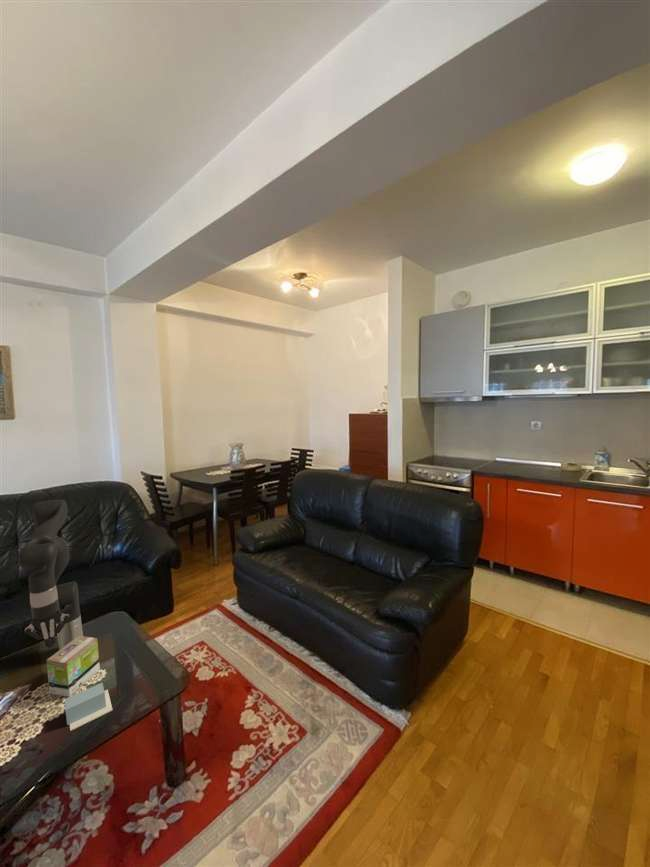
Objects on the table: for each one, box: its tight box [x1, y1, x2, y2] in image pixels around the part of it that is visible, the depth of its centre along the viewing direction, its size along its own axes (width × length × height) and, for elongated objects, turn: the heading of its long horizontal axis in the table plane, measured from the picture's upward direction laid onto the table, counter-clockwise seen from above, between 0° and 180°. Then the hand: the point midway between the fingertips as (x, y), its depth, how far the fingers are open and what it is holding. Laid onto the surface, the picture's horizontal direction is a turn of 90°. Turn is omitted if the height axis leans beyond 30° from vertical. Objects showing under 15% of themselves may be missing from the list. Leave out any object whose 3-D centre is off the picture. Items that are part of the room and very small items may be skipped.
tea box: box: [46, 635, 101, 698], centre depth 149 cm, size 15×10×15 cm, turn 168°
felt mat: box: [69, 689, 113, 732], centre depth 136 cm, size 12×13×1 cm
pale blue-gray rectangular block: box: [64, 682, 106, 726], centre depth 135 cm, size 6×6×12 cm
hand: (50, 646), depth 128 cm, fingers closed
